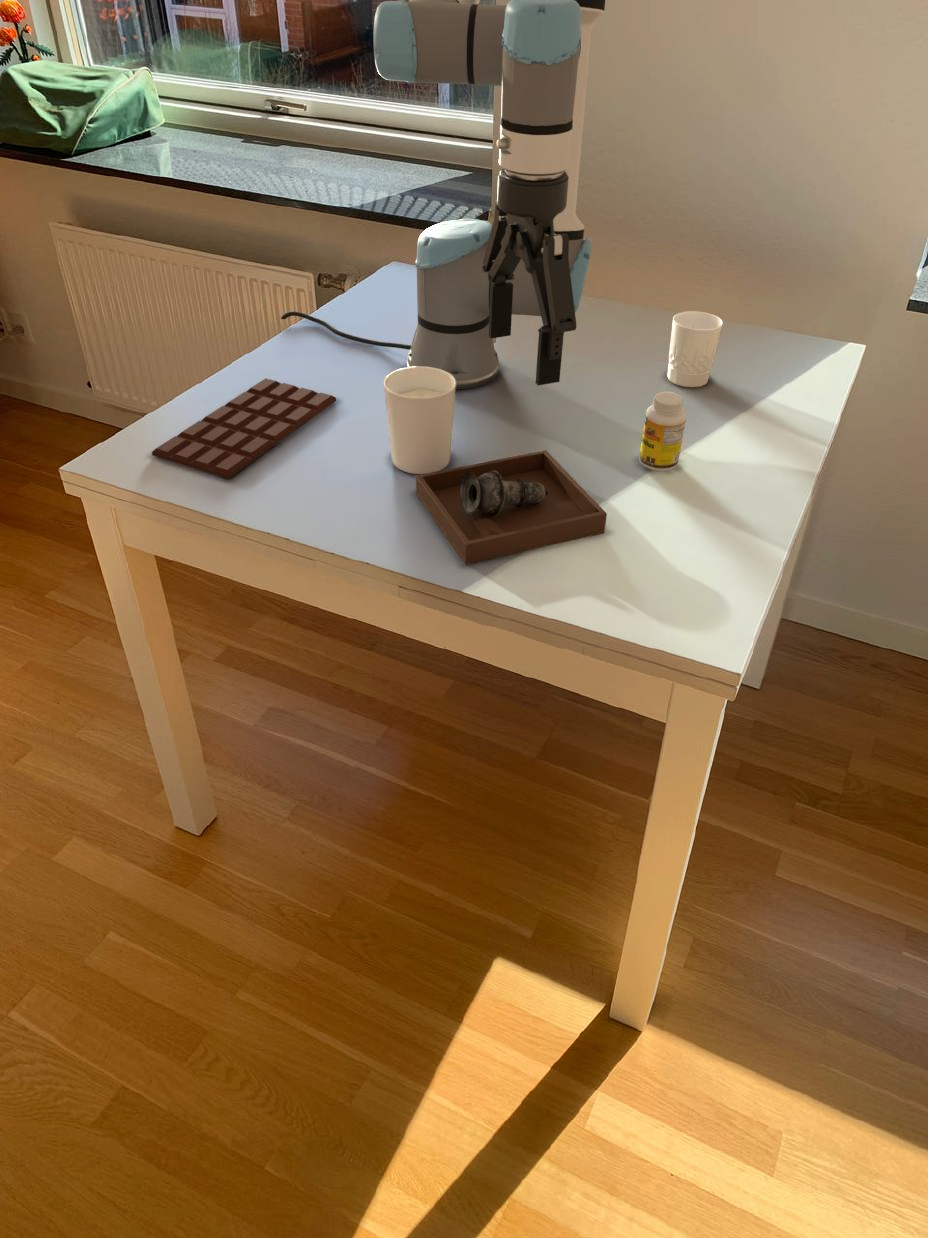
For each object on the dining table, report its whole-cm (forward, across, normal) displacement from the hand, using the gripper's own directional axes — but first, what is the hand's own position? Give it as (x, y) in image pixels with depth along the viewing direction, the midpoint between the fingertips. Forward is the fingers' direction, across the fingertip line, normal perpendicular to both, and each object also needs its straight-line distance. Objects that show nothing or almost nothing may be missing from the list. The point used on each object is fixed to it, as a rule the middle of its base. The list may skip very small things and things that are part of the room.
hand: (522, 358), depth 116 cm
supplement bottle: (+21, -2, +24) cm, 32 cm away
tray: (+21, +2, -2) cm, 21 cm away
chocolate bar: (+21, -33, -28) cm, 48 cm away
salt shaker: (+16, +2, -8) cm, 18 cm away
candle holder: (+21, -15, -8) cm, 27 cm away
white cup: (+22, -25, +43) cm, 54 cm away
